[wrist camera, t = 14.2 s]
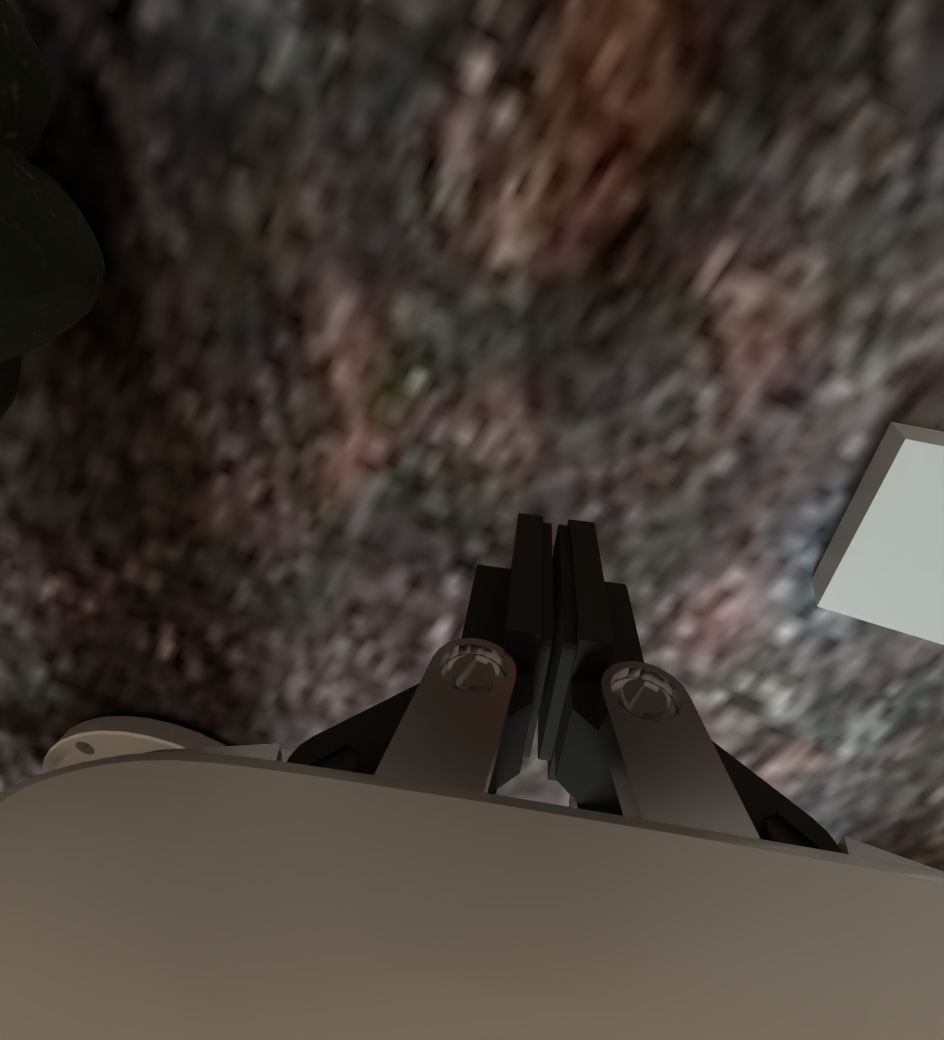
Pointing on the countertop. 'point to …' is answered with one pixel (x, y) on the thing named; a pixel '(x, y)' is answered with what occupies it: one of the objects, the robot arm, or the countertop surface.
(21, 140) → the squash
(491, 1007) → the robot arm
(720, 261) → the countertop surface
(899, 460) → the grey domino
